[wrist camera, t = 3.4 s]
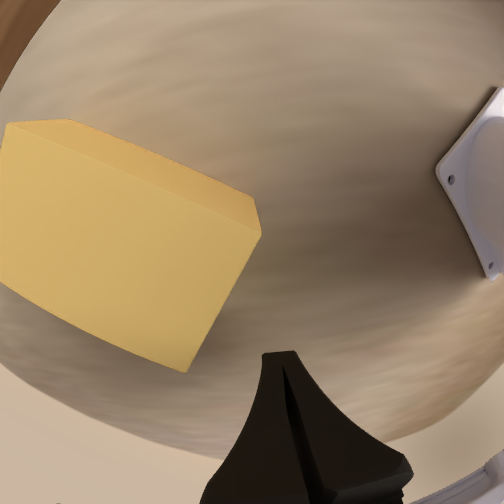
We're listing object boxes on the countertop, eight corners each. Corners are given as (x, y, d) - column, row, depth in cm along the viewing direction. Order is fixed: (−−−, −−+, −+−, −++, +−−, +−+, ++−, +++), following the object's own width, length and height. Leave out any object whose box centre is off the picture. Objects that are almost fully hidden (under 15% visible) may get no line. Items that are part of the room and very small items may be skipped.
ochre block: (252, 196, 12) (262, 233, 8) (197, 306, 14) (185, 373, 10) (71, 119, 10) (7, 123, 6) (42, 234, 12) (-11, 274, 8)
